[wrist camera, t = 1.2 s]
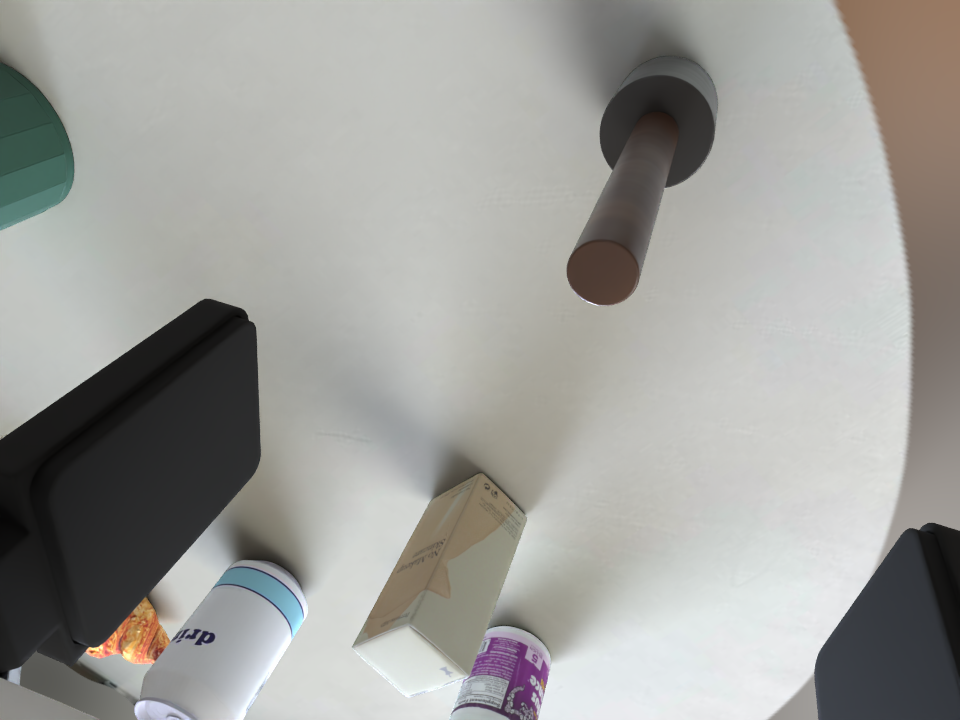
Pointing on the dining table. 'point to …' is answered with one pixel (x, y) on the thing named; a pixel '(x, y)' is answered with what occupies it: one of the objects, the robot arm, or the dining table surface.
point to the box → (443, 589)
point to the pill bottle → (505, 678)
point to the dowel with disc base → (642, 171)
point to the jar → (30, 151)
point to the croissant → (136, 637)
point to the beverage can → (225, 646)
